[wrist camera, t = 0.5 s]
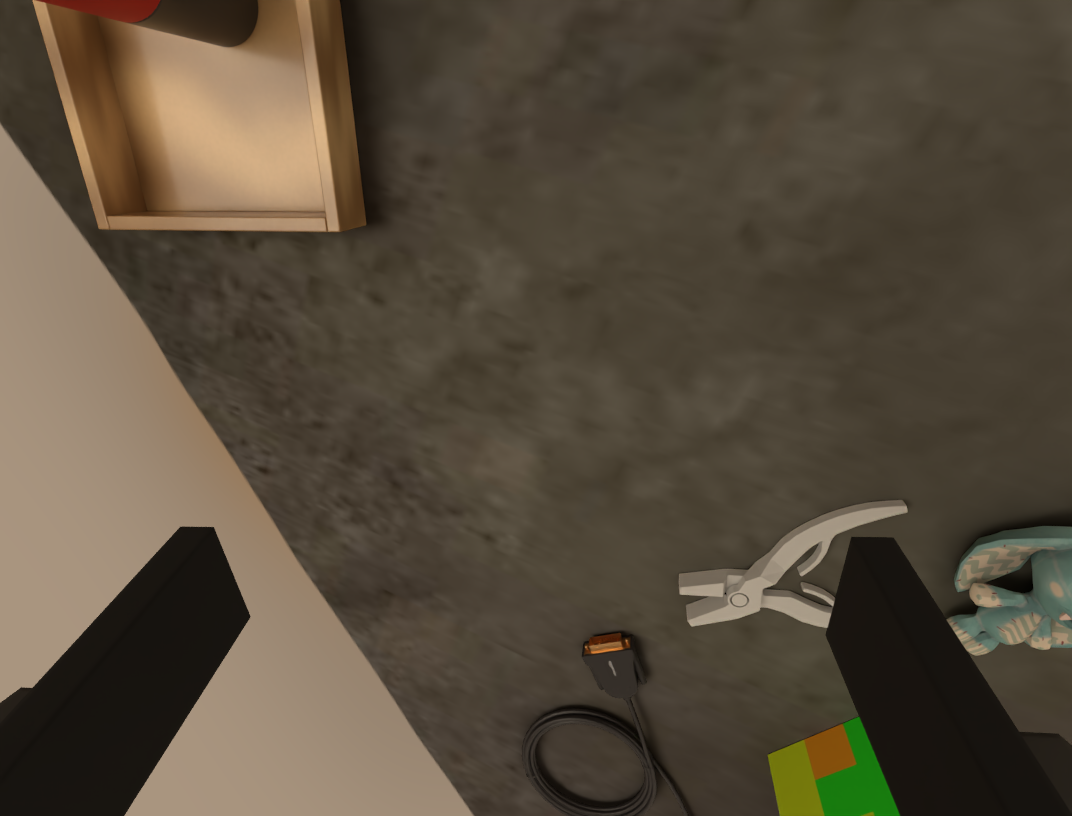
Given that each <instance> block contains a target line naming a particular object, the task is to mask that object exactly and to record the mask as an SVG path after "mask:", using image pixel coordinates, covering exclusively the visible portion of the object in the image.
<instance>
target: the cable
mask: <svg viewBox="0 0 1072 816" xmlns="http://www.w3.org/2000/svg"><path fill="white" fill-rule="evenodd" d="M582 658H583V660H584V662H585V664H587V665H588V666H589V667H590V669H591V671H592V673H593V676H594V678H595V680H596V682H597V684H598V686H599V688H600V689H601V690H603V689H604V690H605V692H606V693H607V694H609V695H610V696H612V697H615V698H623V699H624V700H626V701H627V704H628V706H629V709H630V712H631V714H632V717H633V720H634V723H635V725H636V728H637V731H638V734H639V736H638V735H637V734H636V733H635V732H634V731H633V730H632V729H630V728H629V727H628V726H627V725H625V724H624V723H622V722H620V721H619V720H617V719H615V718H613V717H611V716H609V715H607V714H604V713H600V712H597V711H593V710H588V709H579V708H570V709H561V710H557V711H553V712H551V713H549V714H546V715H544V716H543V717H541V718H540V719H538V720H537V721H536V722H535V723H534V724H533V725H532V726H531V727H530V729H529V730H528V732H527V733H526V736H525V738H524V741H523V746H522V760H523V765H524V769H525V772H526V775H527V777H528V778H529V780H530V782H531V784H532V785H533V787H534V788H535V789H536V791H537V792H538V793H539V794H540V795H541V796H542V797H543V799H544V800H545V801H547V802H548V803H549V804H550V805H551V806H553V807H554V808H555V809H557V810H558V811H560V812H561V813H563V814H565V815H567V816H643V815H644V814H645V813H646V812H647V811H648V810H649V809H650V807H651V805H652V804H653V802H654V799H655V796H656V789H657V783H656V773H655V768H656V769H657V770H658V772H659V773H660V774H661V776H662V777H663V778H664V780H665V781H666V782H667V784H668V785H669V787H670V789H671V790H672V792H673V794H674V795H675V797H676V799H677V801H678V803H679V805H680V807H681V809H682V812H683V814H684V816H689V815H688V812H687V810H686V808H685V806H684V804H683V802H682V799H681V797H680V795H679V794H678V792H677V790H676V788H675V787H674V785H673V783H672V781H671V780H670V779H669V777H668V776H667V775H666V773H665V772H664V771H663V769H662V768H661V767H660V765H659V764H658V763H657V761H656V760H655V759H654V757H653V756H652V754H651V752H650V750H649V748H648V747H647V745H646V741H645V738H644V735H643V732H642V729H641V726H640V723H639V720H638V717H637V715H636V712H635V709H634V707H633V704H632V701H631V697H632V696H633V695H634V694H636V692H637V690H638V678H639V680H640V682H641V684H642V685H645V684H646V683H647V681H646V678H645V675H644V672H643V669H642V666H641V663H640V660H639V658H638V655H637V653H636V650H635V641H634V638H633V635H629V636H621V634H620V633H616V634H609V635H603V636H596V637H591V638H590V639H589V642H584V644H583V652H582ZM546 720H547V721H546ZM566 724H584V725H590V726H594V727H597V728H600V729H603V730H605V731H607V732H609V733H612V734H613V735H615V736H617V737H618V738H620V739H621V740H622V741H624V742H625V743H626V744H627V745H628V746H629V747H630V748H631V749H632V750H633V751H634V752H635V753H636V755H637V756H638V758H639V759H640V761H641V763H642V766H643V768H644V774H645V777H644V783H643V786H642V788H641V790H640V792H639V793H638V794H637V795H636V796H635V797H634V798H633V799H631V800H629V801H628V802H626V803H623V804H620V805H616V806H609V807H600V806H592V805H587V804H584V803H580V802H578V801H575V800H573V799H571V798H569V797H567V796H565V795H564V794H562V793H561V792H559V791H558V790H557V789H555V788H554V787H553V786H552V785H551V784H550V783H549V782H548V781H547V780H546V778H545V777H544V776H543V774H542V773H541V771H540V768H539V767H538V764H537V761H536V756H535V751H536V745H537V742H538V740H539V738H540V737H541V736H542V735H543V734H544V733H546V732H547V731H549V730H550V729H552V728H555V727H557V726H561V725H566ZM654 766H655V767H654Z"/></svg>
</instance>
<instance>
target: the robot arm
mask: <svg viewBox="0 0 1072 816" xmlns="http://www.w3.org/2000/svg"><path fill="white" fill-rule="evenodd" d="M249 618H250V614H249V612H248V609H247V607H246V605H245V602H244V600H243V597H242V595H241V592H240V590H239V588H238V585H237V583H236V580H235V578H234V575H233V573H232V571H231V568H230V566H229V563H228V561H227V558H226V556H225V554H224V551H223V549H222V546H221V544H220V541H219V539H218V537H217V534H216V532H215V529H214V527H180V528H179V529H178V530H177V531H176V532H175V533H174V534H173V535H172V537H171V538H170V539H169V540H168V541H167V542H166V543H165V544H164V545H163V546H162V547H161V549H160V550H159V551H158V552H157V553H156V554H155V555H154V556H153V557H152V558H151V559H150V561H149V562H148V563H147V564H146V565H145V566H144V567H143V568H142V569H141V570H140V572H138V574H137V575H136V576H135V577H134V578H133V579H132V580H131V581H130V582H129V583H128V584H127V586H126V587H125V588H124V589H123V590H122V591H121V592H120V593H119V594H118V595H117V597H116V598H115V599H114V600H113V601H112V602H111V603H110V604H109V605H108V606H107V607H106V608H105V610H104V611H103V612H102V613H101V614H100V615H99V616H98V617H97V618H96V619H95V620H94V621H93V623H92V624H91V625H90V626H89V627H88V628H87V629H86V630H85V631H84V632H83V634H82V635H81V636H80V637H79V638H78V639H77V640H76V641H75V642H74V643H73V644H72V646H71V647H70V648H69V649H68V650H67V651H66V652H65V653H64V654H63V655H62V656H61V657H60V659H59V660H58V661H57V662H56V663H55V664H54V665H53V666H52V667H51V669H49V671H48V672H47V673H46V674H45V675H44V676H43V677H42V678H41V679H40V680H39V681H38V683H37V684H36V685H35V686H34V687H33V688H20V689H19V690H17V691H16V692H15V693H13V694H12V695H10V696H9V697H8V698H6V699H5V700H4V701H2V702H1V703H0V816H124V815H125V814H126V812H127V810H128V809H129V807H130V806H131V804H132V803H133V801H134V799H135V798H136V796H137V795H138V793H139V791H140V790H141V788H142V787H143V785H144V784H145V782H146V781H147V779H148V777H149V776H150V774H151V773H152V771H153V770H154V768H155V766H156V765H157V763H158V762H159V760H160V758H161V757H162V755H163V754H164V752H165V751H166V749H167V747H168V746H169V744H170V743H171V741H172V739H173V738H174V736H175V735H176V733H177V732H178V730H179V729H180V727H181V725H182V724H183V722H184V721H185V719H186V717H187V716H188V714H189V713H190V711H191V710H192V708H193V707H194V705H195V703H196V702H197V700H198V699H199V697H200V696H201V694H202V692H203V690H204V689H205V688H206V686H207V685H208V683H209V681H210V680H211V678H212V677H213V675H214V674H215V672H216V670H217V668H218V667H219V666H220V664H221V662H222V661H223V659H224V658H225V656H226V655H227V653H228V652H229V650H230V648H231V647H232V645H233V643H234V642H235V640H236V639H237V637H238V636H239V634H240V633H241V631H242V629H243V628H244V626H245V625H246V623H247V622H248V620H249ZM826 637H827V640H828V642H829V644H830V647H831V649H832V652H833V654H834V657H835V659H836V661H837V664H838V666H839V669H840V671H841V674H842V676H843V678H844V681H845V683H846V686H847V688H848V690H849V693H850V695H851V698H852V700H853V703H854V705H855V707H856V710H857V712H858V715H859V717H860V720H861V722H862V724H863V727H864V729H865V732H866V734H867V736H868V739H869V741H870V744H871V746H872V749H873V751H874V753H875V756H876V758H877V761H878V763H879V766H880V768H881V770H882V773H883V775H884V778H885V780H886V782H887V785H888V787H889V790H890V792H891V795H892V797H893V799H894V802H895V804H896V807H897V809H898V812H899V814H900V816H1072V746H1071V745H1070V744H1069V743H1068V742H1067V741H1066V740H1065V739H1064V738H1062V737H1061V736H1060V735H1059V734H1052V733H1030V732H1019V731H1018V729H1017V728H1016V726H1015V725H1014V723H1013V722H1012V720H1011V719H1010V717H1009V715H1008V714H1007V712H1006V711H1005V709H1004V708H1003V706H1002V705H1001V703H1000V702H999V700H998V698H997V697H996V695H995V694H994V692H993V691H992V689H991V688H990V686H989V685H988V683H987V681H986V680H985V678H984V677H983V675H982V674H981V672H980V671H979V669H978V668H977V666H976V664H975V663H974V661H973V660H972V658H971V657H970V655H969V654H968V652H967V651H966V649H965V647H964V646H963V644H962V643H961V641H960V640H959V638H958V637H957V635H956V634H955V632H954V630H953V629H952V627H951V626H950V624H949V623H948V621H947V620H946V618H945V617H944V615H943V613H942V612H941V610H940V609H939V607H938V606H937V604H936V603H935V601H934V600H933V598H932V596H931V595H930V593H929V592H928V590H927V589H926V587H925V586H924V584H923V583H922V581H921V579H920V578H919V576H918V575H917V573H916V572H915V570H914V569H913V567H912V566H911V564H910V562H909V561H908V559H907V558H906V556H905V555H904V553H903V552H902V550H901V549H900V547H899V545H898V544H897V542H896V541H895V539H894V538H887V537H851V541H850V545H849V548H848V552H847V556H846V560H845V564H844V567H843V571H842V575H841V579H840V582H839V586H838V590H837V594H836V598H835V601H834V605H833V609H832V613H831V616H830V620H829V624H828V628H827V631H826Z"/></svg>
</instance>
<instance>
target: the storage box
mask: <svg viewBox="0 0 1072 816" xmlns="http://www.w3.org/2000/svg"><path fill="white" fill-rule="evenodd" d="M33 4H34V7H35V11H36V14H37V18H38V21H39V24H40V28H41V31H42V35H43V38H44V42H45V45H46V49H47V52H48V55H49V59H50V62H51V66H52V69H53V73H54V76H55V79H56V83H57V86H58V90H59V93H60V97H61V100H62V103H63V107H64V110H65V114H66V117H67V121H68V124H69V128H70V131H71V134H72V138H73V141H74V145H75V148H76V152H77V155H78V158H79V162H80V165H81V169H82V172H83V176H84V179H85V183H86V186H87V189H88V193H89V196H90V200H91V203H92V207H93V210H94V213H95V217H96V220H97V224H98V227H99V229H103V230H110V229H112V230H185V231H271V232H343V231H347V230H350V229H354V228H358V227H362V226H365V225H366V216H365V208H364V199H363V191H362V182H361V174H360V165H359V157H358V148H357V140H356V132H355V123H354V115H353V106H352V98H351V89H350V81H349V72H348V64H347V55H346V47H345V39H344V30H343V22H342V13H341V5H340V0H258V19H257V23H256V26H255V29H254V31H253V33H252V34H251V35H250V37H249V38H248V39H247V40H246V41H245V42H243V43H242V44H240V45H238V46H234V47H222V46H218V45H214V44H210V43H206V42H202V41H198V40H193V39H189V38H185V37H181V36H177V35H173V34H169V33H165V32H161V31H157V30H153V29H149V28H145V27H141V26H137V25H133V24H129V23H125V22H121V21H117V20H113V19H109V18H105V17H101V16H97V15H93V14H89V13H85V12H80V11H76V10H72V9H68V8H64V7H60V6H56V5H52V4H48V3H44V2H40V1H36V0H33Z"/></svg>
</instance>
